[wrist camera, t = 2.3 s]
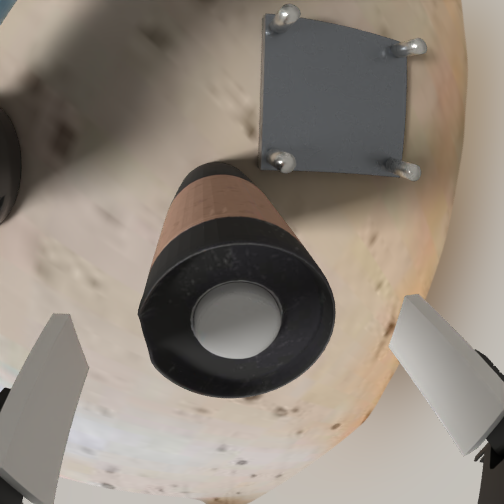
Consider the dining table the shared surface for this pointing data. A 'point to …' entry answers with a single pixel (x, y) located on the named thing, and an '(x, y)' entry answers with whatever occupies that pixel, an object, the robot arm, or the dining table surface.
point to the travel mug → (232, 291)
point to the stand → (332, 98)
